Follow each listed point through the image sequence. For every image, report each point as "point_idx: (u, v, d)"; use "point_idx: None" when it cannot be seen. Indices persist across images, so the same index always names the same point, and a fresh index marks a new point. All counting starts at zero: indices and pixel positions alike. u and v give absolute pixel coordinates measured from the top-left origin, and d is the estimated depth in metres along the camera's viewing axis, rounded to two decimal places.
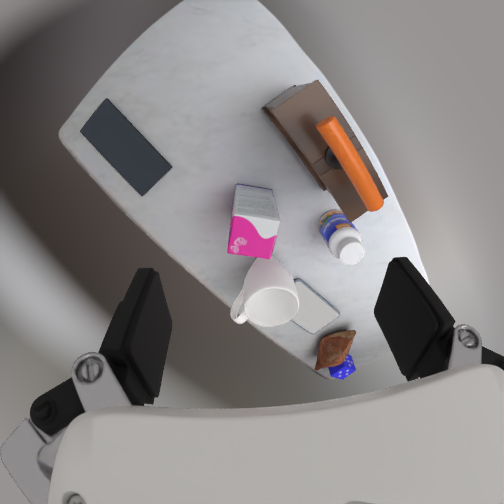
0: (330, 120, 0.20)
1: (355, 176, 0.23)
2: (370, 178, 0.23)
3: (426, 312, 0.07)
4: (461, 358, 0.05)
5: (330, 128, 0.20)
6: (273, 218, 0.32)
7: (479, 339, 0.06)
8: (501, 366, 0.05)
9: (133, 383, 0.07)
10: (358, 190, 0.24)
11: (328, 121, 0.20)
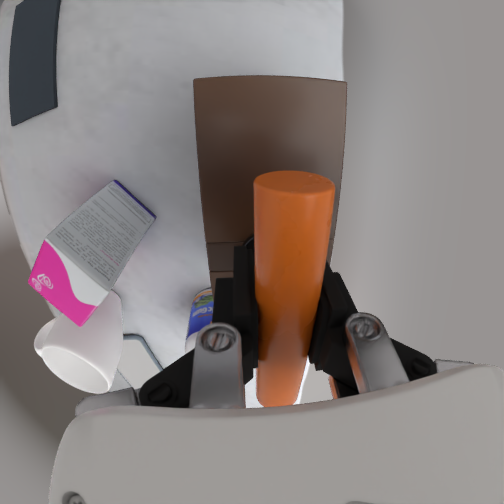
0: (313, 191, 0.06)
1: (270, 356, 0.09)
2: (302, 368, 0.09)
3: None
4: (370, 355, 0.06)
5: (294, 215, 0.06)
6: (99, 281, 0.15)
7: (378, 321, 0.07)
8: (414, 364, 0.06)
9: None
10: (258, 371, 0.10)
11: (305, 189, 0.06)
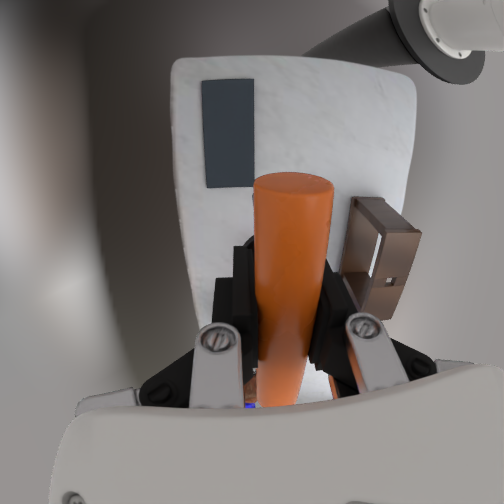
0: (313, 191, 0.06)
1: (270, 357, 0.09)
2: (302, 369, 0.09)
3: None
4: (370, 355, 0.06)
5: (294, 216, 0.06)
6: None
7: (378, 322, 0.07)
8: (414, 365, 0.06)
9: None
10: (259, 373, 0.10)
11: (304, 190, 0.06)
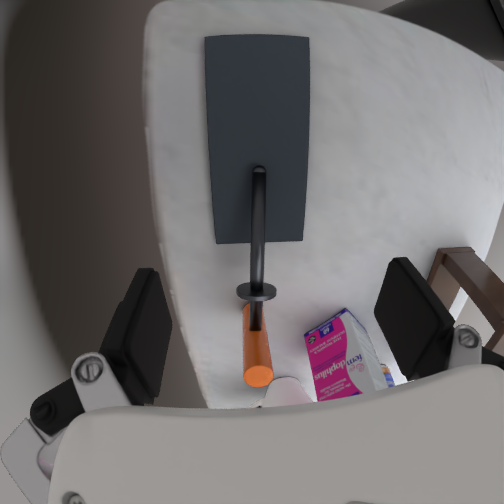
0: (262, 385, 0.17)
1: None
2: None
3: (426, 312, 0.07)
4: (461, 358, 0.05)
5: None
6: None
7: (479, 339, 0.06)
8: (501, 366, 0.05)
9: (133, 383, 0.07)
10: None
11: (259, 384, 0.17)
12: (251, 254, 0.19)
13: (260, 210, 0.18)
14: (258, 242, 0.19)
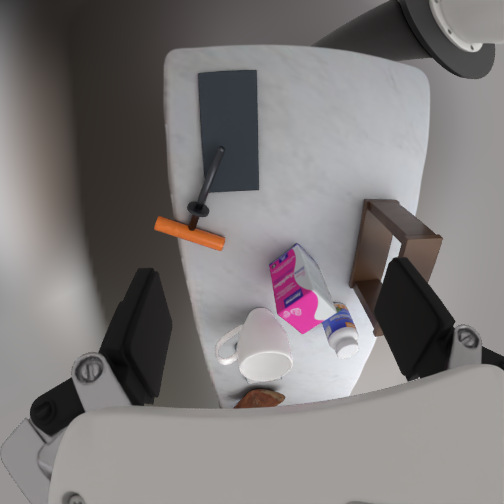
0: (155, 228, 0.37)
1: None
2: None
3: (426, 312, 0.07)
4: (461, 358, 0.05)
5: None
6: (333, 307, 0.33)
7: (479, 339, 0.06)
8: (501, 366, 0.05)
9: (133, 383, 0.07)
10: None
11: None
12: None
13: (209, 168, 0.32)
14: None
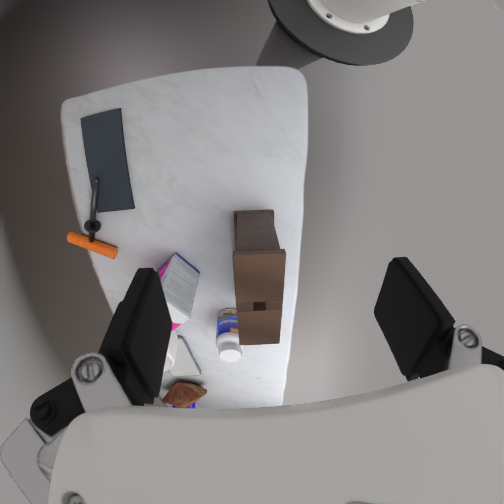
0: None
1: None
2: None
3: (426, 312, 0.07)
4: (461, 358, 0.05)
5: None
6: (185, 313, 0.37)
7: (479, 339, 0.06)
8: (501, 366, 0.05)
9: (133, 383, 0.07)
10: None
11: None
12: None
13: None
14: None
